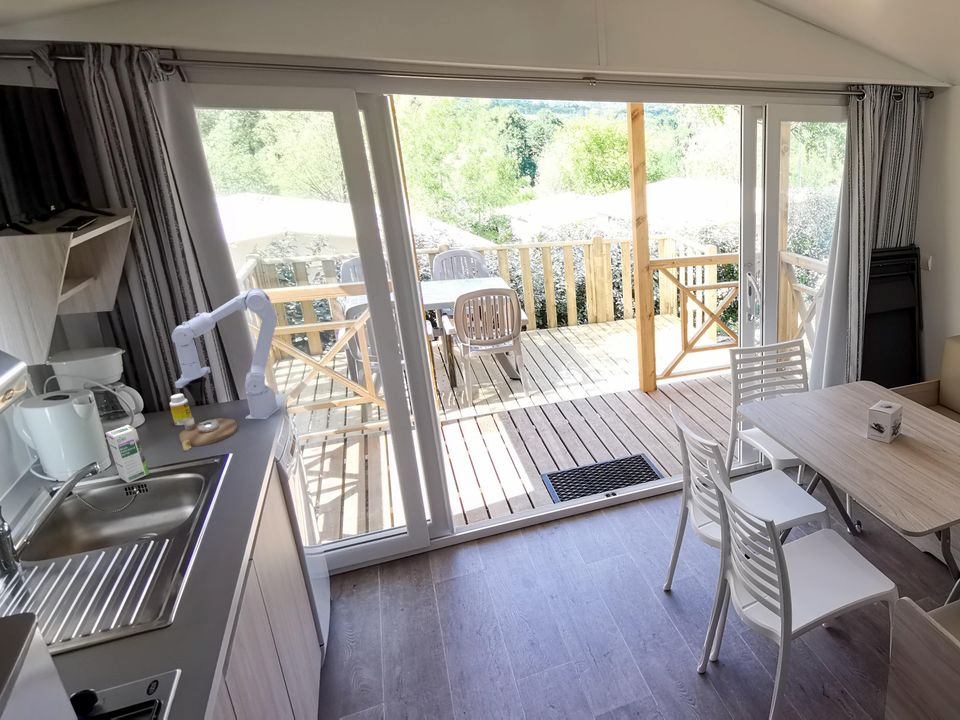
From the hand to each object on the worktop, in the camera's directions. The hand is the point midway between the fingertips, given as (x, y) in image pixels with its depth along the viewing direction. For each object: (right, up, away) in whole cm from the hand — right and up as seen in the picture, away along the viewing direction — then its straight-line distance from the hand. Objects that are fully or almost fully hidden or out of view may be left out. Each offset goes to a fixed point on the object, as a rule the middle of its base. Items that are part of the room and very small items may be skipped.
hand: (199, 400), depth 180 cm
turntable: (+6, -11, -4) cm, 13 cm away
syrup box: (-4, -20, -27) cm, 34 cm away
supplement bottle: (-8, -9, +6) cm, 14 cm away
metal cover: (+6, -9, -5) cm, 12 cm away
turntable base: (+5, -11, -5) cm, 14 cm away
